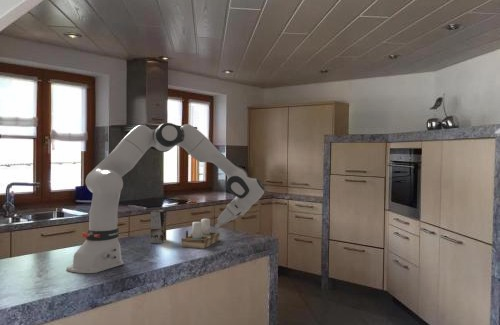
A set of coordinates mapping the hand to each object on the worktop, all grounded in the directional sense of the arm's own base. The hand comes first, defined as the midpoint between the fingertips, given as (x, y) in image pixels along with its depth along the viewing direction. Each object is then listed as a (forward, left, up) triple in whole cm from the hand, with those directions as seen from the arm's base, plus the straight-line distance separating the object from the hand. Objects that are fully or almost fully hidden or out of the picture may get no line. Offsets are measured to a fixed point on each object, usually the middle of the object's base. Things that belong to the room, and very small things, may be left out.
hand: (219, 225), depth 195 cm
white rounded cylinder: (0, +12, -8) cm, 15 cm away
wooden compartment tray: (+5, +12, -11) cm, 17 cm away
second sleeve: (+10, +12, -8) cm, 18 cm away
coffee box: (+2, +35, -11) cm, 37 cm away
